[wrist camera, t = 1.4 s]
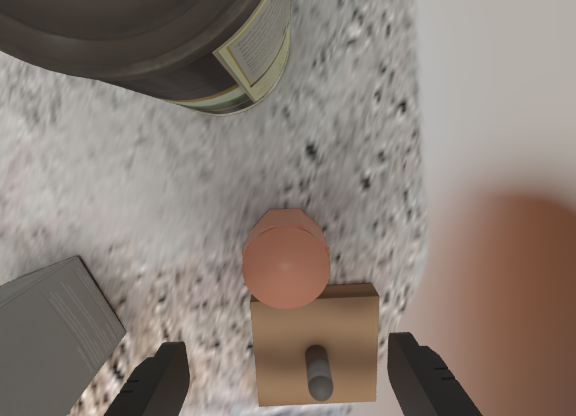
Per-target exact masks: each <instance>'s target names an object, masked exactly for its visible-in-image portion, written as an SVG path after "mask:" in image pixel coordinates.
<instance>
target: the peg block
mask: <svg viewBox="0 0 576 416" xmlns="http://www.w3.org/2000/svg"><path fill="white" fill-rule="evenodd" d="M250 309H251V320H252V332H253V343H254V355H255V366H256V378H257V389H258V401H259V407H262V406H284V405H306V404H328V403H350V402H370V401H376V383H377V352H378V321H379V295H378V293H377V291H376V290H375V288H374V286H373V285H372V283H370V284H349V285H327V286H326V287H325V289H324V290H323V291H322V293H321V294H320V295H319V296H318V297H317V298H316V299H315V300H313V301H312V302H310V303H308V304H306V305H304V306H301V307H298V308H294V309H279V308H274V307H271V306H268V305H266V304H264V303H262V302H261V301H259V300H258V299H257V298H256V297H254V296H253V294H252V295H251V300H250Z"/></svg>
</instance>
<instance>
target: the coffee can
mask: <svg viewBox="0 0 576 416" xmlns="http://www.w3.org/2000/svg"><path fill="white" fill-rule="evenodd" d="M290 15H291V0H0V51H2V52H4V53H6V54H9V55H11V56H13V57H15V58H18V59H20V60H22V61H25V62H27V63H30V64H32V65H35V66H39V67H42V68H44V69H47V70H50V71H54V72H59V73H63V74H67V75H71V76H77V77H83V78H89V79H95V80H100V81H103V82H106V83H109V84H112V85H116V86H120V87H123V88H125V89H129V90H133V91H135V92H139V93H142V94H145V95H149V96H152V97H155V98H158V99H161V100H164V101H167V102H170V103H174V104H177V105H180V106H184V107H187V108H189V109H191V110H193V111H196V112H199V113H202V114H206V115H213V116H227V115H233V114H238V113H241V112H243V111H246V110H248V109H250V108H252V107H254V106H256V105H257V104H259V103H260V102H262V101H263V100H264V99H265V98H266V97H267V96H268V95H269V94H270V93H271V92H272V90H273V89H274V88H275V86H276V85H277V83H278V82H279V80H280V78H281V76H282V74H283V72H284V69H285V67H286V64H287V60H288V57H289V51H290Z"/></svg>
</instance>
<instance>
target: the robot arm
mask: <svg viewBox="0 0 576 416" xmlns="http://www.w3.org/2000/svg"><path fill="white" fill-rule="evenodd" d="M387 365H388V366H387V368H388V375H389V380H390V383H391V386H392V388H393V390H394V393H395V395H396V398H397V400H398V402H399V404H400V407H401V409H402V411H403V414H404V416H483V415H482V414H481V413H480V411H479V410H478V408H477V407H476V406H475V405H474V403H473V402H472V400H471V399H470V398H469V396H468V395H467V393H466V392H465V391H464V389H463V388H462V386H461V385H460V383H459V382H458V381H457V380H456V379H455V377H454V375H453V374H452V373H451V371H450V370H448V367H447V365H446V364H445V363H444V361H443V360H442V358H441V357H440V356H439V355H438V354H437V353H435V352H434V351H433V350H432V349H430V348H429V347H428V346H419V345H418V343H417V341H416V340H415V338H414V337H413V335H412V334H411V333H410V332H399V333H390V334H389V338H388V364H387ZM189 382H190V373H189V366H188V359H187V353H186V346H185V343H184V342H183V341H182V342H164V343H162V344H161V346H160V348H159V349H158V351H157V352H156V354H155V356H154V357H148V358H146V359H145V360H144V361H143V362H142V363H141V364H139V365H138V366H137V367H136V368H135V369H134V371H133V372H132V374H131V375H130V377H129V378H128V380H127V383H125V384H124V386H123V387H122V389H121V390H120V393H119V394H118V395H117V396H116V398H115V399H114V401H113V402H112V404H111V405H110V407H109V408H108V410H107V411H106V413H105V414H104V416H178V415H179V413H180V410H181V408H182V405H183V403H184V400H185V398H186V395H187V392H188V388H189Z"/></svg>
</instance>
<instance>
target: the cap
mask: <svg viewBox="0 0 576 416" xmlns="http://www.w3.org/2000/svg"><path fill="white" fill-rule="evenodd" d="M242 256H243V266H242V272H243V278H244V281H245V285H246V286H247V288H248V289H249V291H250V292H251V293H252V294H253V296H254V297H256V298H257V299H258V300H259V301H261V302H262V303H264V304H266V305H268V306H271V307H274V308H279V309H294V308H298V307H301V306H304V305H306V304H308V303H310V302H312V301H313V300H315V299H316V298H317V297H318V296H319V295H320V294H321V293H322V291H323V290H324V289H325V287H326V285H327V283H328V282H329V276H330V261H329V247H328V245H327V242H326V240H325V237H324V235H323V232H322V229H321V227H320V226H319V225H318V224H317V223H315V222H314V221H313V220H312V219H311V218H310V217H309V216H308V215H306V214H305V213H304V212H303V211H302V210H301V209H300V208H291V209H270V210H269V211H268V212H267V213H266V214H265V215H264V216H263V217H262V218H261V219H260V221H259V222H258V223H257V224H256V225H255V226H254V227H253V228H252V229H251V230H250V233H249V235H248V238H247V241H246V243H245V246H244V248H243V251H242Z"/></svg>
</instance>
